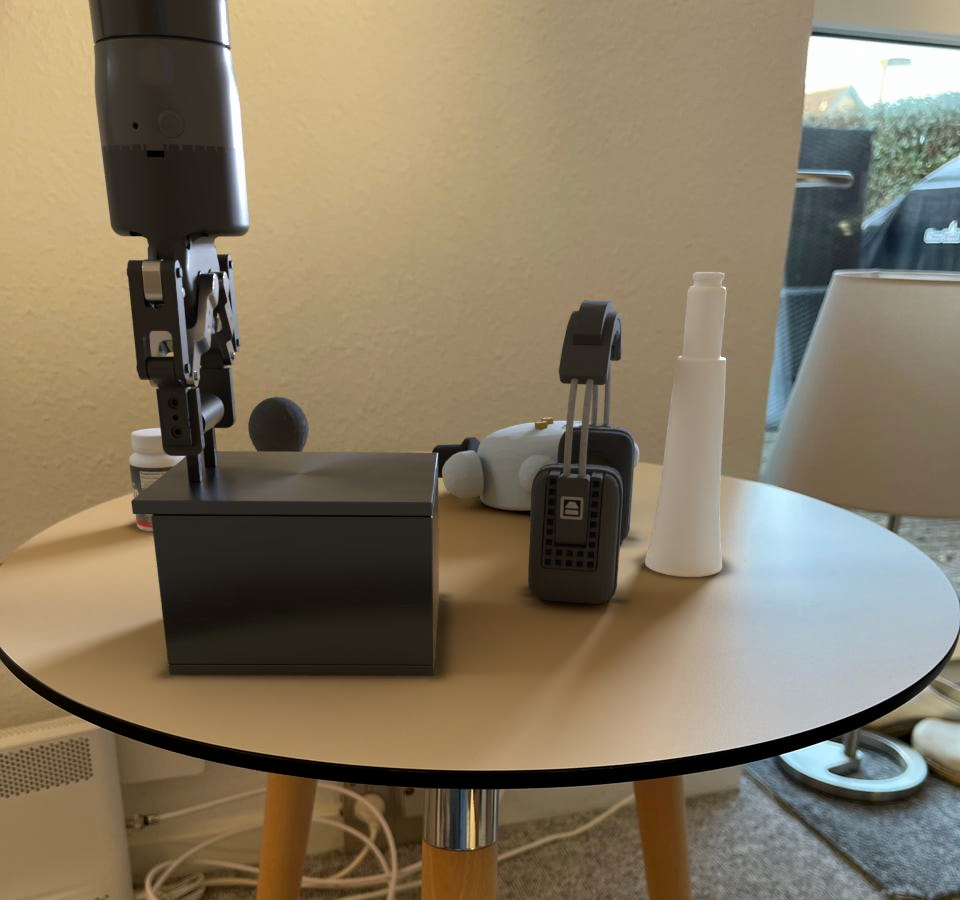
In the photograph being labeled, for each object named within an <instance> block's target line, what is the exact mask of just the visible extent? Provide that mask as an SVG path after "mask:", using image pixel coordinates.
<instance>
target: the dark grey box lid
mask: <svg viewBox="0 0 960 900" xmlns="http://www.w3.org/2000/svg"><path fill="white" fill-rule="evenodd" d="M200 402H201V412H202V422H203V432H204V442H205V448H204V450H203V451H202V452H201V453H200V454H199V455H197V456H185V458H183V459H182V460H181V461H180V462H179V463H177V464H176V465H175V466H174V467H172V468H171V469H170V470H169V471H167V472H166V473H165V474H164V475H162V476H161V477H160V478H159V479H158V480H156V481H155V482H154V483H153V484H151V485H150V486H149V487H148V488H146V489H145V490H144V491H143V492H141V493H140V494H139V495H138V496H136V497H135V498H134V497H133V499H131V502H130V503H131V511H132V514H133V515H136V514H182V515H349V516H432V512H433V504H434V495H435V487H436V478H437V469H438V453H432V452H400V451H399V452H391V451H389V452H388V451H387V452H385V451H384V452H383V451H382V452H381V451H380V452H379V451H302V452H265V451H257V450H256V451H255V450H254V451H247V450H245V451H244V450H239V451H238V450H237V451H236V450H219V451H218V449H217V437H216V428H215V425H216V424H217V423H218V422H219V421H221V419H222V418H223V415H224V406H223V403H222V401H221V400H220V399H219V398H218V397H217V396H216V395H214V394H211V393H202V394H200Z"/></svg>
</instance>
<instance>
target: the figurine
mask: <svg viewBox="0 0 960 900" xmlns="http://www.w3.org/2000/svg"><path fill="white" fill-rule="evenodd" d="M566 422H567V420H554V417H553V416H552V417H550V416H549V417H548V416H547V417H542V418H540V420H539V421H535V422H526V423H519V424H515V425H512V426H511V425H510V426H508V427H505V428H502V429H499V430H496V431H494V432H492V433H490V434H488V435H487V436H485V438H483V439H482V440H481V441H480V440H479V439H478V438H477V437H476V436H467V437H465V438H464V439H463V440H462V442H461V443H454V444H453V443H452V444H451V443H450V444H437V445H435V446H434V447H433V448H432V452H431V453H438V479H442V482H443V485H444V486H443V487H444V488H445V489H446V491H447V492H448V493H450V494H451V495H453V496H454V497H456V498H459V499H466V500H467V499H473V498H478V497H479V498H480V501H481V502H482V503H483V504H484V505H485V506H488V507H491V508H494V509H500V510H504V511H505V510H506V511H521V512H523V511H524V512H526V511H527V512H528V511H531V488H532V484H533V479H534V478H535V476H536V474H537V472H538V471H539V470H540V468H542V467H543V466H545V465H549V464H556V463H557V456H558V445H559V441H560V438H561V437H562V435H563V433H564V432H565V431H566ZM590 423H591V422H589V424H590ZM579 425H582V420H574V424H573V427H577V426H579ZM634 444H635V459H634V468H635V467H637V465H638V463H639V460H640V449H639V446H638V444H637V442H635V441H634Z"/></svg>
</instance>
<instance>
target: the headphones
mask: <svg viewBox="0 0 960 900" xmlns="http://www.w3.org/2000/svg"><path fill="white" fill-rule="evenodd" d="M622 353H623V327H622V317H621V314H620V312H619V311H614V309H613V304H612V302H611V301H610V300H583V301H582V302H581V304H580V306H579V308H578V310H573V311H572V313H571V314H570V317H569V319H568V322H567V325H566V329H565V333H564V339H563V343H562V347H561V353H560V360H559V367H558V375H559V376H558V377H559V382H560V383H561V384H564V385H569V393H568V401H567V402H568V403H567V412H566V421H567V422H566V431H565V432H564V433H563V435H562V437H561V438H560V441H559V445H558V456H557V463H556V464H549V465H545V466H543V467H542V468H540V470H539V471H538V472H537V474H536V476H535V478H534V479H533V484H532V488H531V510H530V516H529V517H530V520H529V542H528V543H529V544H528V565H527V566H528V569H527V584H528V590H529V593H530V594H531V596H532V597H534V598H536V599H538V600H543V601H549V602H562V603H574V604H575V603H576V604H588V605H598V604H605V603H606V602H608V601H609V600H611V599H612V598H613V596H615V594H616V590H617V587H618V576H619V575H618V574H619V563H620V562H619V561H620V545H621V542H624V540H626V538H627V537H628V535H629V533H630V530H631V516H632V500H633V487H634V486H633V485H634V474H635V467H634V459H635V444H634V442H635V439H634V436H633V435H632V433H630V432H629V430H626V429H624V428H622V427H621V426H614V424H612V423H610V412H611V389H612V362H619V361H620V360H621V359H622ZM578 385H585V390H584V399H583V407H582V418H581V422H582V425H579V426H577V427H573V424H574V421H575V413H576V402H577V394H578V393H577V392H578ZM599 386H604V403H603V422H601V423H600V422H599V423H598V411H599V410H598V408H599V407H598V406H599ZM590 416H591V418H590ZM590 419H591V420H590ZM589 423H590V424H589Z"/></svg>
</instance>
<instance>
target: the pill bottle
mask: <svg viewBox="0 0 960 900" xmlns="http://www.w3.org/2000/svg"><path fill="white" fill-rule="evenodd" d="M130 439H131V440H130V441H131V442H130V443H131V449H132V450H133V451H134V452H133V453H132V454H131V455H130V456H129V461H128V462H129V464H128V465H129V472H130V480H131V488H132V489H131V490H132V497H133V499H134V498H135V497H136V496H138V495H139V494H140V493H141V492H143V491H144V490H145V489H146V488H148V487H149V486H150V485H151V484H153V483H154V482H155V481H156V480H158V479H159V478H160V477H161V476H162V475H164V474H165V473H166V472H167V471H169V470H170V469H171V468H172V467H174V466H175V465H176V464H177V463H179V462H180V461H181V460H182V459H183V458H185V457H186V456H170V455H168V454H166V453H165V452H164V450H163V446H162V437H161V429H160V427H153V428H151V427H150V428H143V429H137V430H134V431H132V432H131V433H130ZM152 515H153V514H135V522H136V526H137V528H138V529H140V530H142V531H146V532H153V528H152V519H151V516H152Z"/></svg>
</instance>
